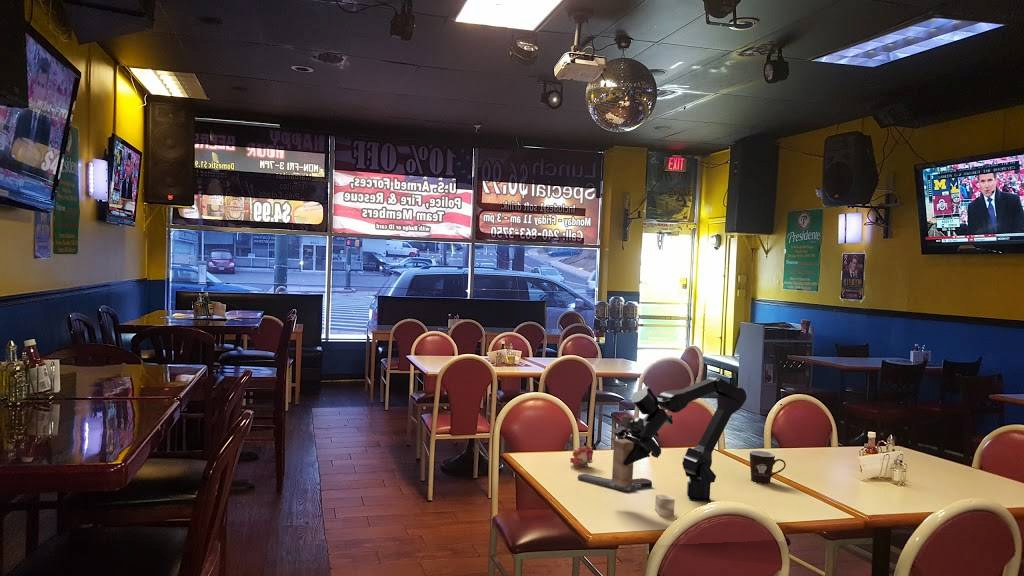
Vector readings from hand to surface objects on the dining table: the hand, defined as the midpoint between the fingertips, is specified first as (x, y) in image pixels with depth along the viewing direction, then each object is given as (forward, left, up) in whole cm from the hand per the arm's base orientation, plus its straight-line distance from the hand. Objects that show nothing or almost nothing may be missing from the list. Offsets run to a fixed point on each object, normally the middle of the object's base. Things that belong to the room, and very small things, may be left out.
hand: (619, 462), depth 221 cm
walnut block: (-1, -1, -7) cm, 7 cm away
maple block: (-14, +3, -14) cm, 20 cm away
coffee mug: (-54, -43, -14) cm, 70 cm away
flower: (+11, -45, -14) cm, 48 cm away
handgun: (-1, -26, -14) cm, 30 cm away
